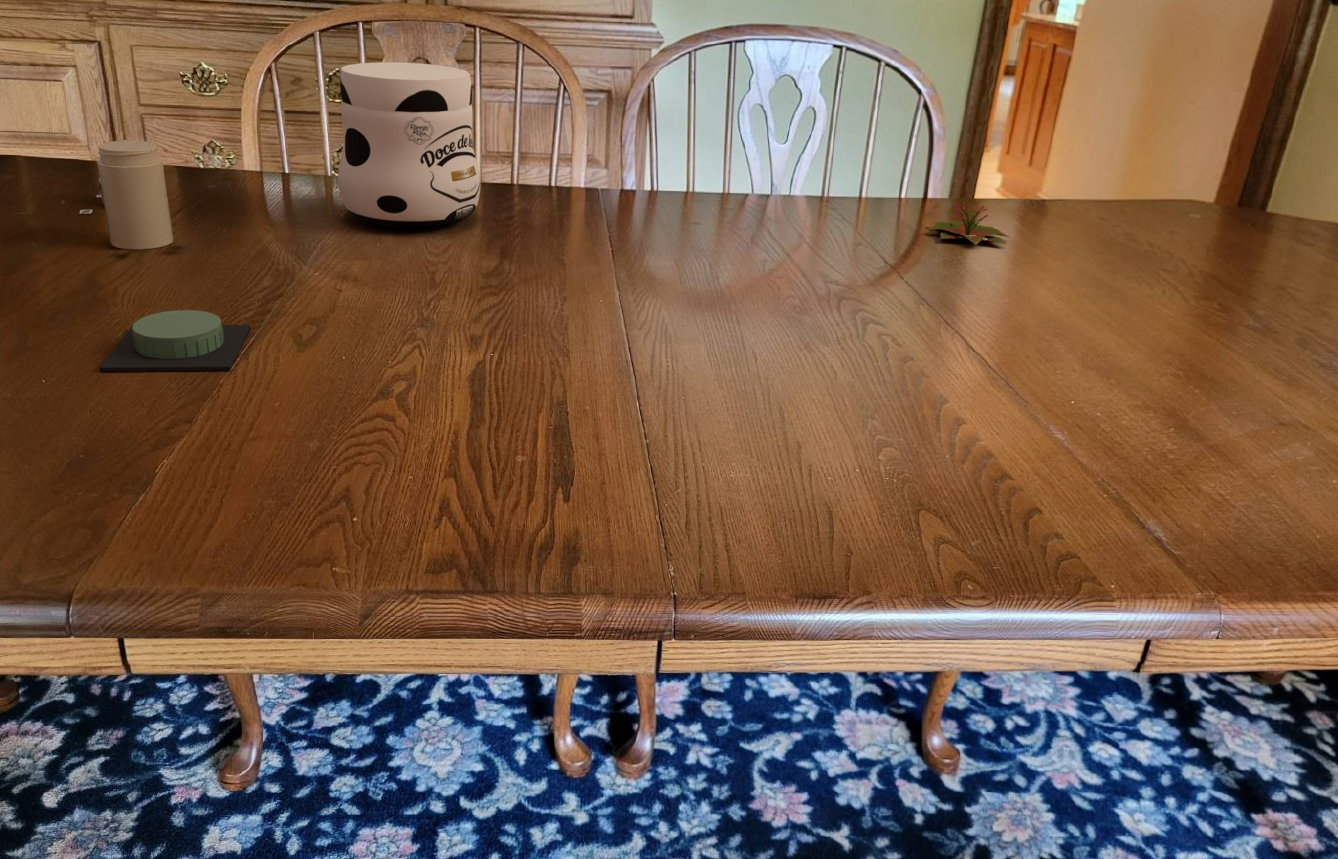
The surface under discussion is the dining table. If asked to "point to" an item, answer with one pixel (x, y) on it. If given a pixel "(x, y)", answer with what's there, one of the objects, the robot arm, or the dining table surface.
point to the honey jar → (134, 195)
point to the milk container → (407, 144)
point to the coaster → (217, 360)
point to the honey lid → (178, 334)
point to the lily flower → (968, 228)
